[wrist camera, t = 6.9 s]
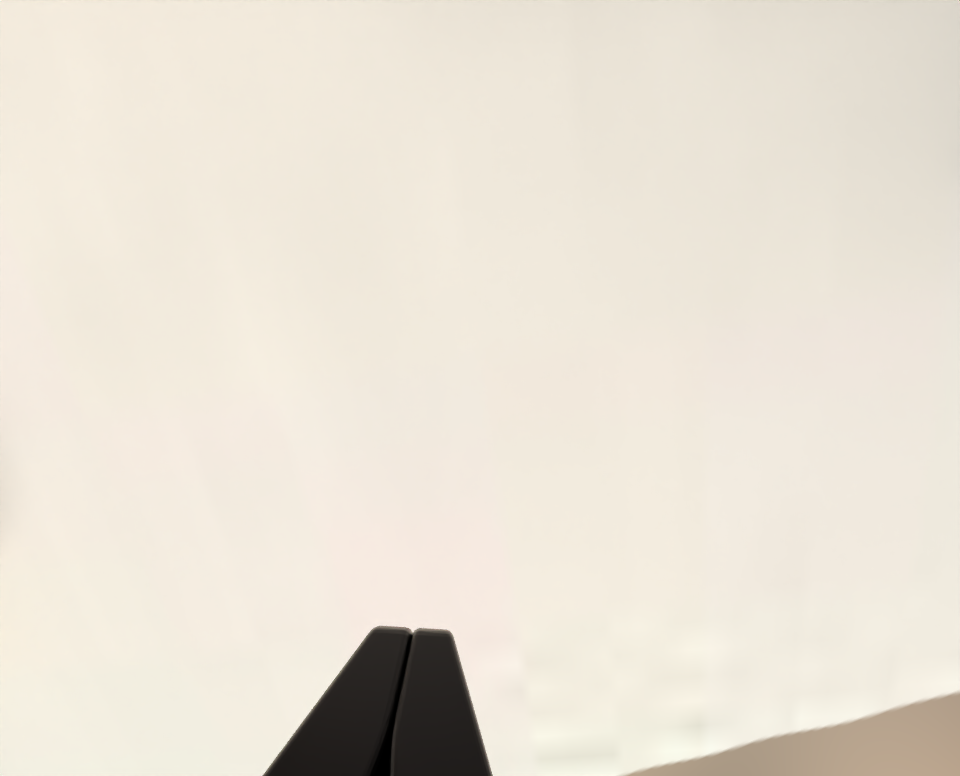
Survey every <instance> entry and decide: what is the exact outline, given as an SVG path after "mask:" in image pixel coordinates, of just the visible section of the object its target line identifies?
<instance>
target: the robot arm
mask: <svg viewBox="0 0 960 776" xmlns="http://www.w3.org/2000/svg"><path fill="white" fill-rule="evenodd" d="M263 776H493V775H492V772H491V768H490V765H489V761H488V758H487V754H486V751H485V747H484V743H483V740H482V736H481V733H480V729H479V726H478V722H477V719H476V715H475V712H474V708H473V704H472V701H471V697H470V694H469V690H468V687H467V683H466V680H465V676H464V673H463V669H462V666H461V662H460V658H459V655H458V651H457V648H456V644H455V641H454V637H453V635H452V633H451V632H450V631H448V630H443V629H426V628H419V629H417V630H415V631H414V633H412V631H411V630H410V629H409V628H406V627H391V626H377V627H375V628H373V629H372V630H371V631H370V633H369V634H368V635H367V636H366V638H365V639H364V640H363V642H362V643H361V644H360V646H359V647H358V648H357V650H356V651H355V652H354V654H353V655H352V656H351V658H350V659H349V661H348V662H347V663H346V665H345V666H344V667H343V669H342V670H341V671H340V673H339V674H338V675H337V677H336V678H335V679H334V681H333V682H332V683H331V685H330V686H329V687H328V689H327V690H326V691H325V693H324V694H323V695H322V697H321V698H320V699H319V701H318V702H317V703H316V705H315V706H314V707H313V709H312V710H311V712H310V713H309V714H308V716H307V717H306V718H305V720H304V721H303V722H302V724H301V725H300V726H299V728H298V729H297V730H296V732H295V733H294V734H293V736H292V737H291V738H290V740H289V741H288V742H287V744H286V745H285V746H284V748H283V749H282V750H281V752H280V753H279V754H278V756H277V757H276V759H275V760H274V761H273V763H272V764H271V765H270V767H269V768H268V769H267V771H266V772H265V773H264V775H263Z"/></svg>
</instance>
